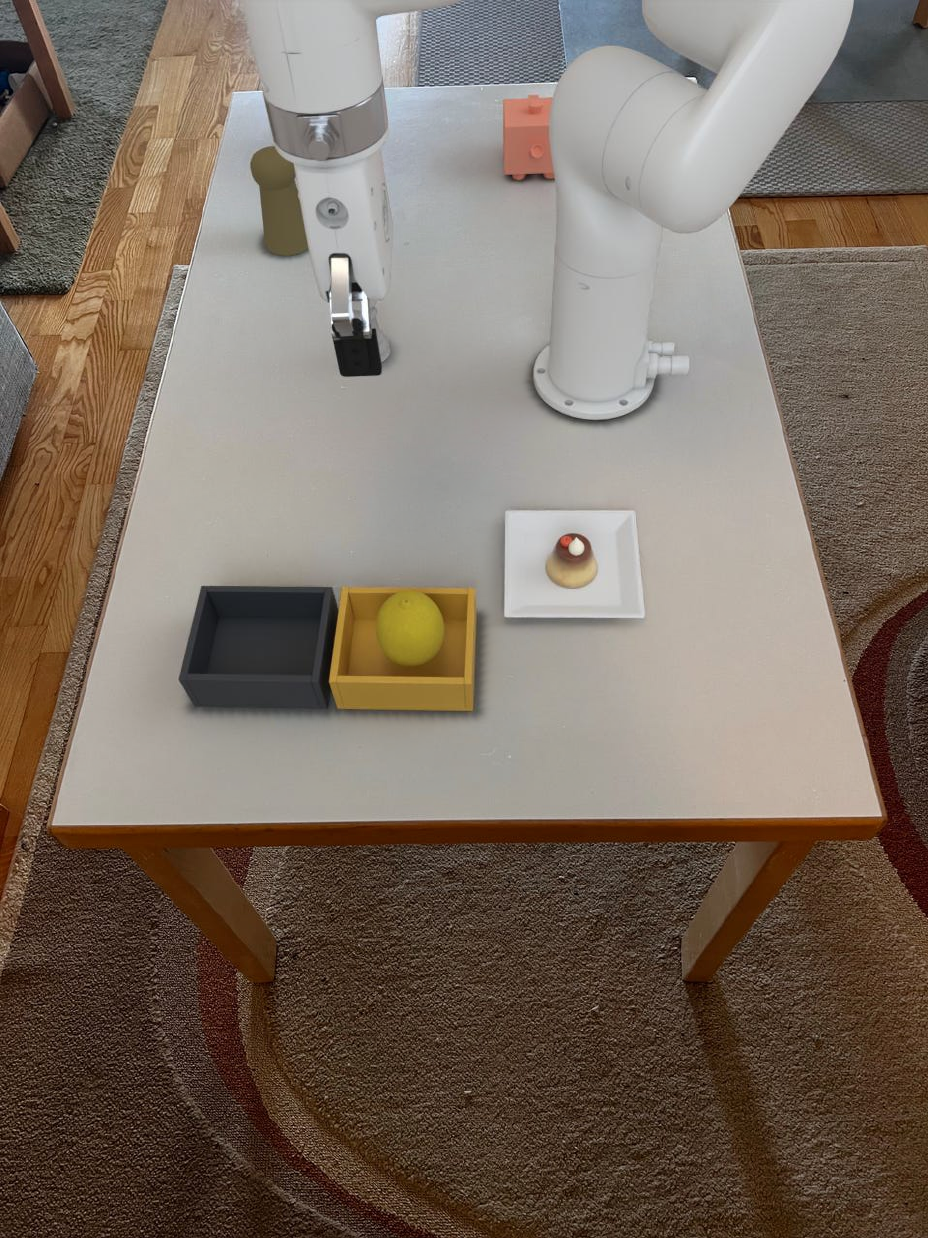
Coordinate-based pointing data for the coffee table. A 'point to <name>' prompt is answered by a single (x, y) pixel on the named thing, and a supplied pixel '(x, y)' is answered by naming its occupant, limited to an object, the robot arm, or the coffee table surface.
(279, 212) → the pawn chess piece
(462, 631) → the ochre bin
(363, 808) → the coffee table surface
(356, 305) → the rook chess piece
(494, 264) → the coffee table surface
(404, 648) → the lemon
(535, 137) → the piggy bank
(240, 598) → the charcoal bin
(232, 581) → the coffee table surface
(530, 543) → the dessert
